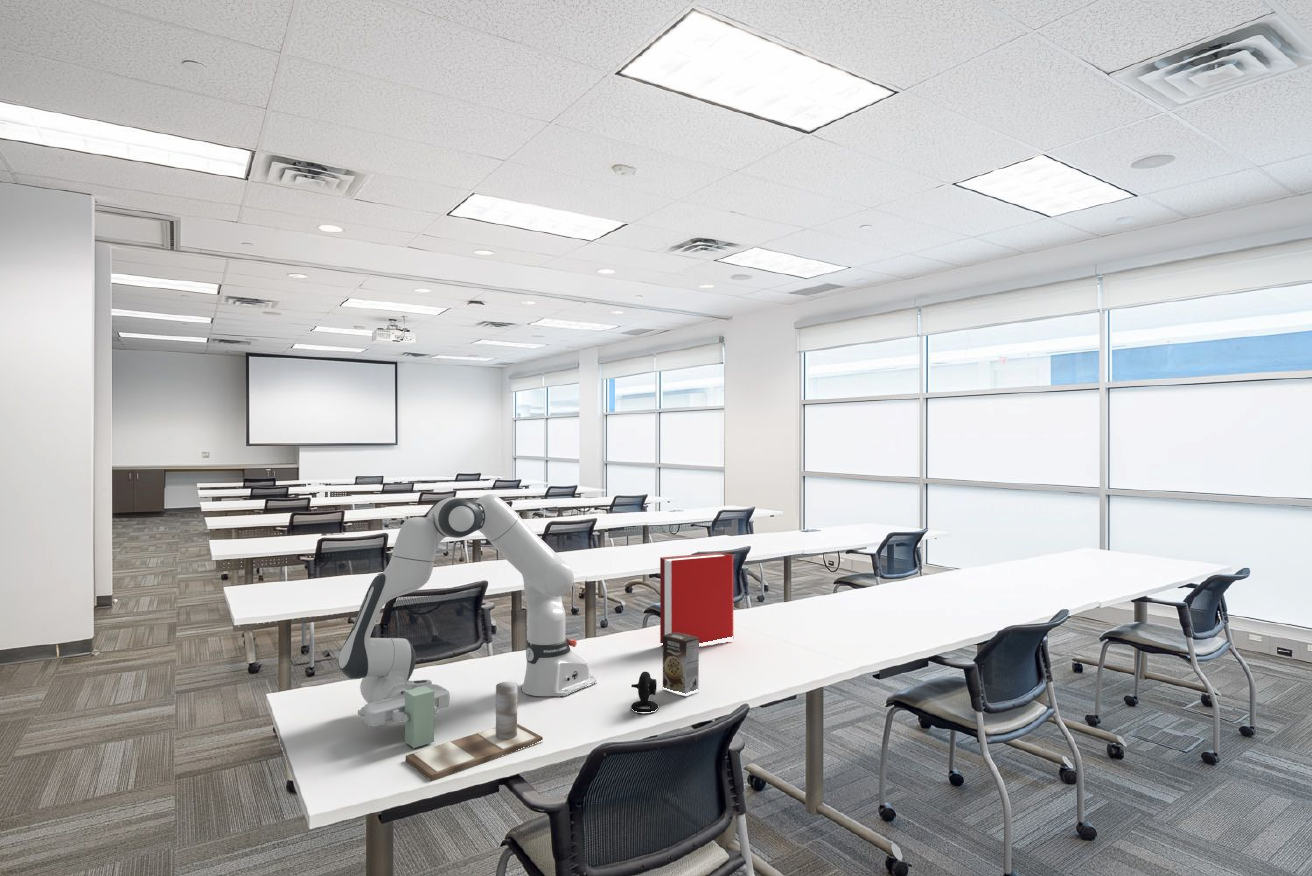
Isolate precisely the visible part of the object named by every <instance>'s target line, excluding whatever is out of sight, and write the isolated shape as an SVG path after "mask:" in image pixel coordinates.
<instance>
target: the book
mask: <svg viewBox="0 0 1312 876" xmlns="http://www.w3.org/2000/svg"><path fill="white" fill-rule="evenodd" d="M659 564H660V565H659V566H660V567H659V569H660V570H659V571H660V572H659V574H660V575H659V576H660V577H659V578H660V580H659V582H660V583H659V584H660V585H659V587H660V589H659V593H660V594H659V595H660V596H659V597H660V599H659V600H660V601H659V603H660V604H659V605H660V609H659V612H660V613H659V614H660V615H659V617H660V624H659V630H660V631H659V636H660V637H659V638H660V641H659V644H660V643H663V635H666V634H669V633H674V632H679V633H683V634H687V635H691V636H695V637H699V643H703V642H708V641H713V640H717V639H722V638H727V637H732V636H733V637H734V554H732V553H728V552H722V551H721V552H709V553H697V554H696V553H695V554H685V555H675V556H663V557H660V558H659Z"/></svg>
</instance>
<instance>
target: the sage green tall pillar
mask: <svg viewBox="0 0 1312 876" xmlns="http://www.w3.org/2000/svg"><path fill="white" fill-rule="evenodd" d="M406 712H408V713H410V714H411V721H409V722H406V723H404V742H405V743H406V744H407V745H409V746H410V747H412V748H413V749H415V748H419V747H422V746H425V745H428V744H432V743H434V742H435V714H434V691H433V690H432V689H430V688H428V687H426V686H423V687H419V688H415V689H411V690H407V691H405V713H406Z"/></svg>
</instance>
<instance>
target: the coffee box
mask: <svg viewBox="0 0 1312 876" xmlns="http://www.w3.org/2000/svg"><path fill="white" fill-rule="evenodd" d="M699 655H700V648H699V637H695V636H691V635H687V634H683V633H679V632H674V633H669V634H666V635H663V646H662V688H663V687H664V688H667V689H670V690H673V691H679V692H682V693H685V694H686V693H688V692H690V691H694V690H696V689H698V690H699V686H700V685H699V681H700V680H699V674H700V673H699V671H700V670H699V663H700V662H699V661H700V656H699Z"/></svg>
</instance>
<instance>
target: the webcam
mask: <svg viewBox="0 0 1312 876" xmlns="http://www.w3.org/2000/svg"><path fill="white" fill-rule="evenodd" d="M631 688H635V689H637V695H638V698H639V700H636V701H634V702H633V703H631V705H630V709H631V708H632V709H633V710H634V711H637V712H651V711H655V710H656V709H657V708H658V706H659V704H658V703H657V702H655V701H653V700H649V698H650V696H656V694H657V679H655V678H652V677H651V674H650V672H648V671H642V672H641V673H640V676H639V679H638V683H636V684H631ZM641 706H644V707H647V708H643V707H641ZM632 709H631V710H632ZM658 709H659V708H658Z"/></svg>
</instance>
